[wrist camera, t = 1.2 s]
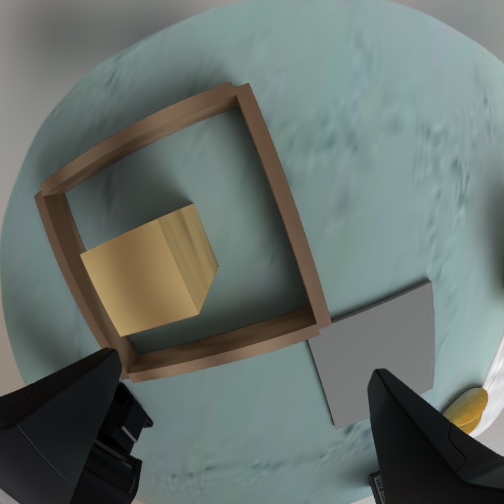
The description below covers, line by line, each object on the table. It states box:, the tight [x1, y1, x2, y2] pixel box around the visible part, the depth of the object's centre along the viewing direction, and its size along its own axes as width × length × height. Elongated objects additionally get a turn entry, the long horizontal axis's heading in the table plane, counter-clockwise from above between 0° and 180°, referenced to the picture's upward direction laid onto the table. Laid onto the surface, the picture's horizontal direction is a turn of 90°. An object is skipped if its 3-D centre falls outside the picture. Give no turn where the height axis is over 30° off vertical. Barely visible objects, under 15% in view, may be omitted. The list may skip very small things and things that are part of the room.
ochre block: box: [80, 203, 219, 337], centre depth 17 cm, size 5×5×8 cm
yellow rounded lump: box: [443, 388, 488, 434], centre depth 25 cm, size 8×9×4 cm
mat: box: [308, 280, 435, 429], centre depth 23 cm, size 12×14×1 cm
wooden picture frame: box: [34, 82, 332, 383], centre depth 19 cm, size 18×18×3 cm
